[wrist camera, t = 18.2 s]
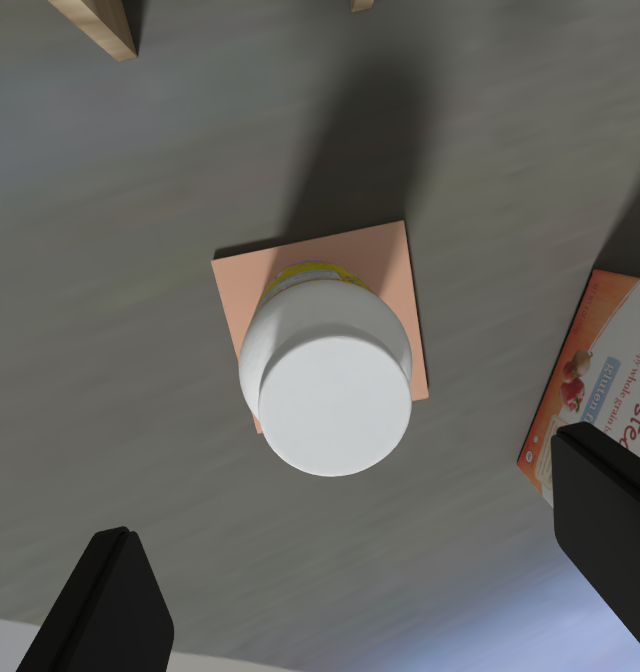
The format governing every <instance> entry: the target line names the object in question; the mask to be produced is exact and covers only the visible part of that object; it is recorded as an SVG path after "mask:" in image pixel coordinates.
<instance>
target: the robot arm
mask: <svg viewBox="0 0 640 672" xmlns="http://www.w3.org/2000/svg"><path fill="white" fill-rule="evenodd" d="M551 465H552V487H553V510H554V531H555V536H556V539H557V541H558V544H559V545H560V547H561V548H562V550H563V551H564V552H565V554H566V555H567V556H568V557H569V558H570V560H571V561H572V562H573V563H574V564H575V566H576V567H577V568H578V569H579V571H580V572H581V573H582V574H583V575H584V577H585V578H586V579H587V580H588V581H589V583H590V584H591V585H592V586H593V587H594V589H595V590H596V591H597V592H598V593H599V595H600V596H601V597H602V598H603V599H604V601H605V602H606V603H607V604H608V606H609V607H610V608H611V609H612V610H613V612H614V613H615V614H616V615H617V616H618V618H619V619H620V620H621V621H622V622H623V624H624V625H625V626H626V627H627V628H628V630H629V631H630V632H631V633H632V635H633V636H634V637H635V638H636V639H637V641H638V642H639V643H640V457H638V456H637V455H635V454H634V453H633V452H631V451H630V450H628V449H627V448H625V447H624V446H622V445H621V444H620V443H618V442H617V441H615V440H614V439H612V438H611V437H609V436H608V435H607V434H605V433H604V432H602V431H601V430H599V429H598V428H596V427H595V426H594V425H592V424H591V423H589V422H587V421H582V422H578V423H574V424H569V425H565V426H560V427H559V428H558V429H557V431H556V435H553V436H552V437H551ZM173 640H174V626H173V621H172V619H171V616H170V614H169V611H168V609H167V606H166V604H165V601H164V599H163V596H162V594H161V591H160V589H159V586H158V584H157V581H156V579H155V576H154V574H153V571H152V569H151V566H150V564H149V561H148V559H147V556H146V554H145V551H144V549H143V546H142V544H141V541H140V539H139V536H138V534H137V533H136V532H135V531H132V532H130V531H129V529H128V528H126V527H124V526H122V527H118V528H113V529H109V530H105V531H100V532H97V533H95V535H94V536H93V537H92V539H91V541H90V542H89V544H88V546H87V548H86V549H85V551H84V553H83V555H82V556H81V558H80V560H79V562H78V563H77V565H76V567H75V569H74V570H73V572H72V574H71V576H70V577H69V579H68V581H67V583H66V584H65V586H64V588H63V590H62V591H61V593H60V595H59V597H58V598H57V600H56V602H55V604H54V605H53V607H52V609H51V611H50V612H49V614H48V616H47V618H46V619H45V621H44V623H43V625H42V626H41V628H40V630H39V632H38V634H37V635H36V637H35V639H34V640H33V642H32V644H31V646H30V648H29V649H28V651H27V653H26V654H25V656H24V658H23V660H22V661H21V663H20V665H19V667H18V668H17V670H16V672H166V669H167V665H168V661H169V656H170V653H171V649H172V645H173Z"/></svg>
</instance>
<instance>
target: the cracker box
mask: <svg viewBox="0 0 640 672" xmlns="http://www.w3.org/2000/svg"><path fill="white" fill-rule="evenodd" d="M582 421H587V422H589V423H591V424H592V425H594V426H595V427H596V428H598V429H599V430H601V431H602V432H604V433H605V434H607V435H608V436H609V437H611V438H612V439H614V440H615V441H617V442H618V443H620V444H621V445H622V446H624V447H625V448H627V449H628V450H630V451H631V452H633V453H634V454H635V455H637V456H638V457H640V278H637V277H632V276H627V275H623V274H618V273H613V272H608V271H602V270H597V269H596V270H594V271H593V273H592V276H591V279H590V281H589V284H588V287H587V289H586V292H585V294H584V297H583V300H582V302H581V305H580V307H579V310H578V312H577V314H576V317H575V319H574V322H573V325H572V327H571V330H570V333H569V335H568V337H567V340H566V342H565V345H564V347H563V350H562V352H561V355H560V357H559V360H558V362H557V365H556V368H555V370H554V372H553V375H552V378H551V380H550V382H549V385H548V387H547V390H546V393H545V395H544V398H543V400H542V403H541V405H540V408H539V410H538V412H537V415H536V418H535V420H534V423H533V425H532V428H531V430H530V433H529V435H528V437H527V440H526V443H525V445H524V448H523V450H522V452H521V455H520V458H519V460H518V463H517V466H518V467H519V468H520V469H521V471H522V472H523V473H524V474H525V475H526V477H527V478H528V479H529V480H530V481H531V483H532V484H533V485H534V486H535V487H536V489H537V490H538V491H539V492H540V493H541V494H542V496H543V497H544V498H545V499H546V500H547V501H548V503H549V504H550V505H551V506H552V507H553V487H552V465H551V437H552V436H553V435H556V431H557V429H558V428H559V427H560V426H565V425H569V424H574V423H578V422H582Z"/></svg>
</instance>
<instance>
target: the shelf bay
mask: <svg viewBox="0 0 640 672" xmlns="http://www.w3.org/2000/svg"><path fill="white" fill-rule="evenodd" d="M48 1H49V2H50V3H51V4H52V5H54V6H55V7H56V8H57V9H58V10H59V11H61V12H62V13H63V14H64V15H65V16H66V17H68V18H69V19H70V20H71V21H72V22H73V23H74V24H76V25H77V26H78V27H79V28H80V29H81V30H83V31H84V32H85V33H86V34H87V35H88V36H89V37H91V38H92V39H93V40H94V41H95V42H96V43H98V44H99V45H100V46H101V47H102V48H103V49H105V50H106V51H107V52H108V53H109V54H110V55H111V56H113V57H114V58H115V59H116V60H117V61H121V60H126V59H131V58H136V57H137V54H136V50H135V46H134V43H133V39H132V36H131V32H130V29H129V25H128V22H127V18H126V15H125V11H124V7H123V4H122V0H48ZM373 3H374V0H350V4H351V10H352V12H356V11H361V10H366V9H371V8H372V5H373Z"/></svg>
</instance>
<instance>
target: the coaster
mask: <svg viewBox="0 0 640 672" xmlns="http://www.w3.org/2000/svg"><path fill="white" fill-rule="evenodd" d="M307 260H324V261H329V262H333V263H336V264H338V265H340V266H342V267H344V268H346V269H348V270H349V271H350V272H352V273H353V274H354V275H356V276H357V277H358V278H359V279H360V280H361V281H362V282H363V283H364V284H365V285H366V286H367V287H369V289H371V290H372V291H373V292H374V293H375V294H376V295H377V296H378V297H379V298H380V299H381V300H382V301H384V302H385V303H386V304H387V305H388V306H389V307H390V309H391V310H392V311H393V312H394V313H395V314H396V316H397V317H398V319H399V320H400V321H401V323H402V325H403V327H404V329H405V331H406V334H407V336H408V339H409V342H410V346H411V351H412V377H411V382H410V391H411V400H412V401H415V400H420V399H424V398H429V396H428V389H427V382H426V375H425V368H424V361H423V353H422V346H421V339H420V332H419V325H418V318H417V310H416V303H415V296H414V289H413V282H412V275H411V268H410V260H409V253H408V246H407V239H406V232H405V225H404V220H400V221H395V222H391V223H386V224H381V225H376V226H371V227H367V228H362V229H357V230H352V231H348V232H343V233H338V234H333V235H329V236H324V237H319V238H314V239H310V240H305V241H300V242H295V243H290V244H286V245H281V246H276V247H271V248H267V249H262V250H257V251H252V252H248V253H243V254H238V255H233V256H229V257H224V258H219V259H214V260H212V261H211V263H212V267H213V270H214V274H215V278H216V281H217V285H218V289H219V293H220V296H221V300H222V304H223V307H224V311H225V315H226V318H227V322H228V326H229V329H230V333H231V337H232V340H233V344H234V348H235V351H236V355H237V359H238V363H239V357H240V351H241V347H242V343H243V340H244V337H245V334H246V331H247V329H248V327H249V325H250V322H251V320H252V317H253V314H254V312H255V309H256V307H257V304H258V301H259V299H260V296H261V294H262V292H263V291H264V289H265V287H266V286H267V284H268V283H269V282H270V281H271V279H272V278H273V277H274V276H275V275H276V274H278V273H279V272H280V271H281V270H283V269H285V268H286V267H288V266H290V265H293V264H295V263H298V262H302V261H307ZM252 414H253V412H252ZM253 418H254V421H255V425H256V429H257V433H263V431H262V429H261V425H260V421H259V420H258V419H257V418H256V417H255V415H254V414H253Z"/></svg>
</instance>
